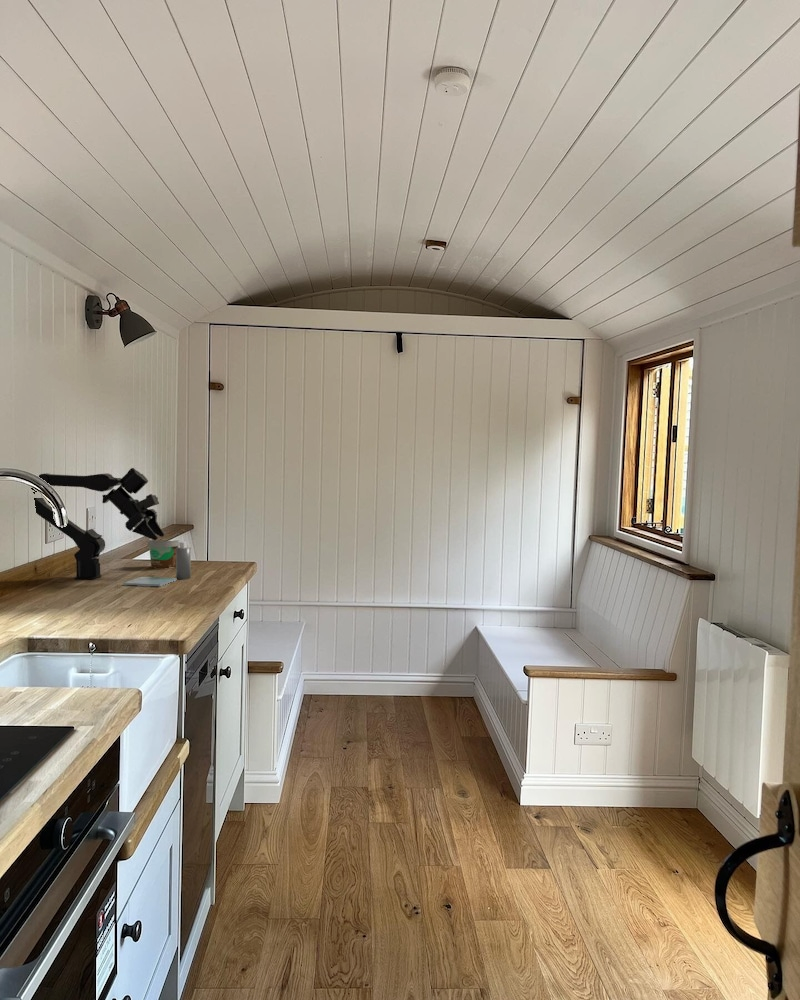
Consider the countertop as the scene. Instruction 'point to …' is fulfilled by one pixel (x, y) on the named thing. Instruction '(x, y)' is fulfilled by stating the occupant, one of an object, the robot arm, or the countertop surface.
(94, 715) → the countertop surface
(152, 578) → the coaster
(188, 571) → the grey tall rounded piece
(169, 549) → the food container
